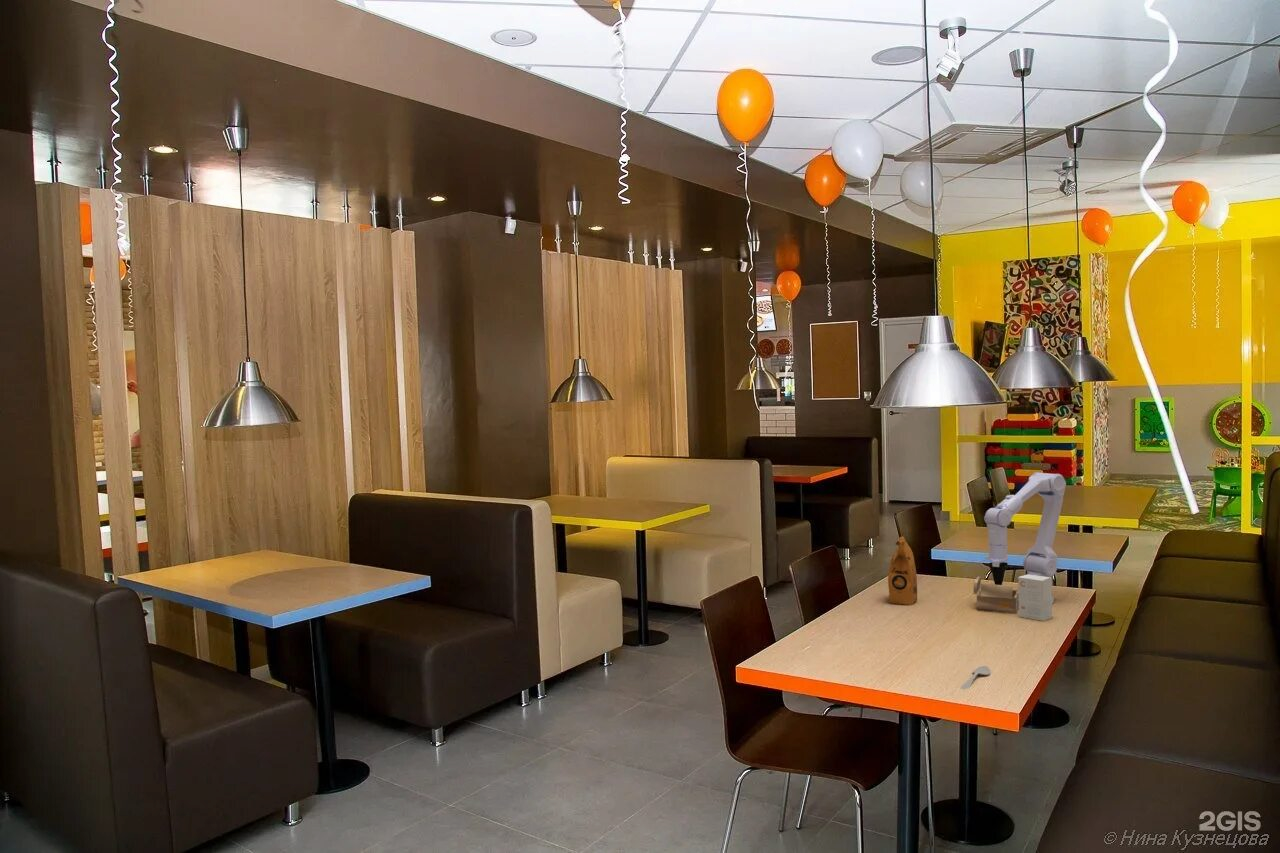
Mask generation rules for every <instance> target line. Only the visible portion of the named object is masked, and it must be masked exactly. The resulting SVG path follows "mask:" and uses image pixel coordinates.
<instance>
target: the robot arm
mask: <svg viewBox="0 0 1280 853" xmlns="http://www.w3.org/2000/svg"><path fill="white" fill-rule="evenodd" d="M1066 486H1067V481H1066V480H1065V478H1064V476H1063V475H1062V474H1060V473H1050V472H1049V473H1047V472H1040V471H1036V472H1033V474H1032V475H1030V476H1029V477H1028V481H1027V482H1026V483H1025V484H1024V485H1023V486H1022V487H1021V489H1019V491H1018V492H1016V493H1015V494H1007V495H1006V496H1005V498H1004V499H1003V500H1002V501H1001V502H1000V503H997V505H996V506H995V507H991V508H989V509H988V510H986V512H985V515H984V517H983V519H984V522H985V523H986V529H987V531H988V555H986V556H985V557H984V558H985V560H989V561H990V562H989V563H988V567H989V569H990V571H991V573H992V574H991V575H992V578H993V582H994V583H993V584H994V585H1003V583H1004V576H1005V572H1006V569H1007V567H1008V565H1009V563H1008V562H1007V561H1008V560H1009V557H1008V526H1009V525H1010V524H1011V522H1012V519H1013V517H1014V516H1015V515H1016V514H1017V513H1019V511H1021V510H1022V508H1023V507H1024V506H1023V505H1024V504H1023V503H1025V502H1026V501H1027V500H1029V499H1031V497H1032V496H1034V495H1035V494H1038V495H1039V496H1040V498H1042V499H1043V500H1044V504H1043V507H1042V508H1043V509H1042V513H1041V517H1040V518H1041V519H1040V521H1039V526H1038V529H1037V530H1038V531H1037V534H1036V540H1035V544H1034V545H1033V546H1031V547H1030V548H1028V549H1027V553H1026V555H1025V557H1024V558H1023V562H1022V566H1023V569H1024V570H1025V571H1026V575H1027V574H1029V575H1036V576H1044V577H1051V582H1052V583H1053V577H1054V575H1055V574H1056V572H1057V570H1058V555H1057V554H1056V552H1055V551H1054V549H1053V547H1054V541H1055V537H1056V533H1057V529H1058V523H1059V519H1060V516H1061V510H1062V507H1063V502H1064V495H1065V490H1066ZM1054 600H1055V596H1053V595H1052V605H1053V604H1054Z"/></svg>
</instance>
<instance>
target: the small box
mask: <svg viewBox="0 0 1280 853" xmlns="http://www.w3.org/2000/svg"><path fill="white" fill-rule="evenodd" d="M1017 582H1018V584H1017V585H1018V586H1017V587H1018V589H1017V590H1018V593H1019V607H1018V617H1019V618H1023V617H1024V618H1025V619H1030V620H1036V621H1039V622H1041V621H1042V622H1045V621H1047V620H1049V619H1052V618H1053V604H1052V596H1053V581H1052V582H1051V577H1044V576H1036V575H1029V574H1027V573H1026V574H1024V575H1020V576H1017Z"/></svg>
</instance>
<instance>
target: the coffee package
mask: <svg viewBox="0 0 1280 853" xmlns="http://www.w3.org/2000/svg"><path fill="white" fill-rule="evenodd" d="M895 545H896V546H897V549H896V550H895V551H894V553H893V555H892V558H891V560H890V562H889V567H888V578H887V584H888V594H889V595H888V600H889V602H890V604H892V605H905V606H913V605H914V603H916V602H917V601H918V579H917V578H918V576H917V568H916V563H915V556H914V552H913V551H912V548H911V546H909V544H908V542H907V540H906V539H905V537H904V536H903V535H902V536H900V537H899V538H898V540H897V541H896V542H895Z"/></svg>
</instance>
